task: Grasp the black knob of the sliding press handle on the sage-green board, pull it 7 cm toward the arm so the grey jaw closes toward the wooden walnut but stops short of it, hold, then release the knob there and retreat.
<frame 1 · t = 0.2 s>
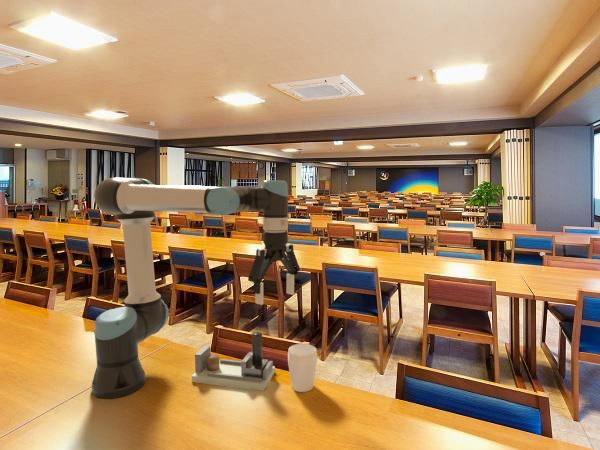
hand: (275, 298, 118), 27 cm above the table, fingers open, 13 cm apart
walnut: (213, 368, 125), point 2 cm above the table, touching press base
handle: (254, 353, 121), point 9 cm above the table, slide at 0.0 cm
cup: (302, 387, 117), on the table
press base: (234, 376, 123), on the table
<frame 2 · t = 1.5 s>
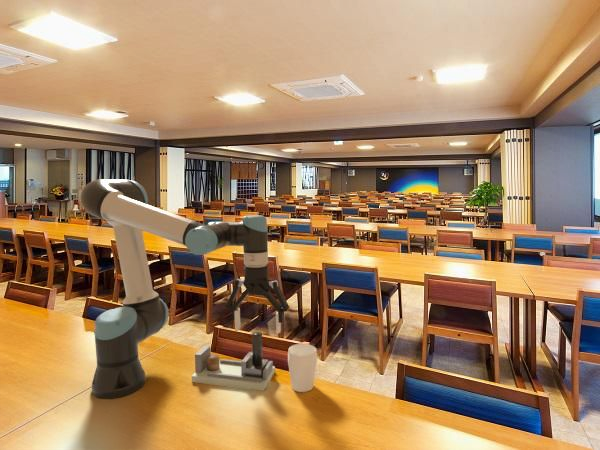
hand: (257, 330, 120), 16 cm above the table, fingers open, 13 cm apart
nothing on the table moved.
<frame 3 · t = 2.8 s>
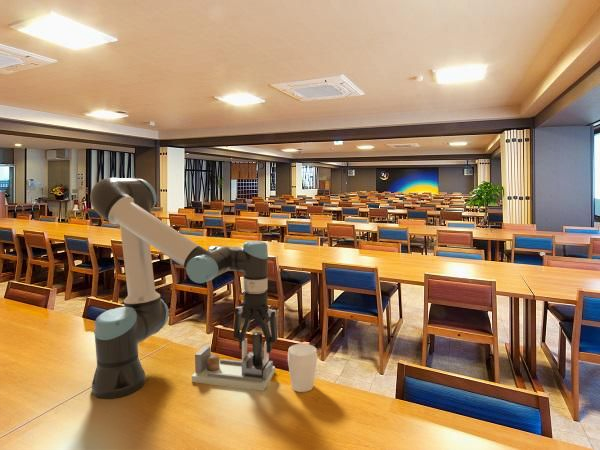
hand: (255, 360, 121), 6 cm above the table, fingers open, 7 cm apart
handle: (255, 353, 121), point 9 cm above the table, slide at -0.1 cm, touching gripper
everything else where it was.
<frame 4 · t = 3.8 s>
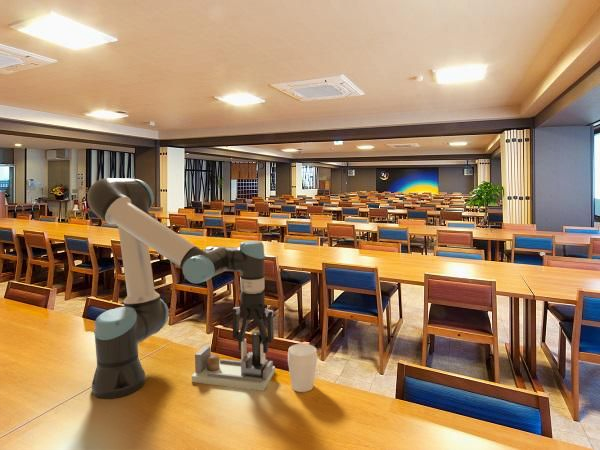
hand: (253, 360, 121), 6 cm above the table, fingers closed on handle, 6 cm apart
handle: (254, 353, 121), point 9 cm above the table, slide at 0.1 cm, touching gripper
everything else where it was.
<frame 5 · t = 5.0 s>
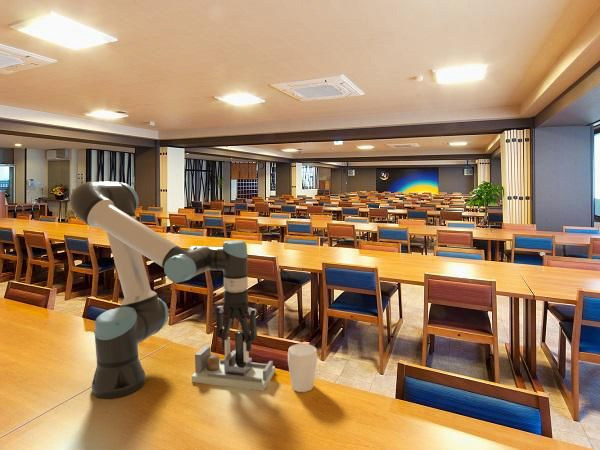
hand: (236, 358, 123), 6 cm above the table, fingers closed on handle, 6 cm apart
handle: (238, 351, 122), point 9 cm above the table, slide at 5.7 cm, touching gripper
everything else where it was.
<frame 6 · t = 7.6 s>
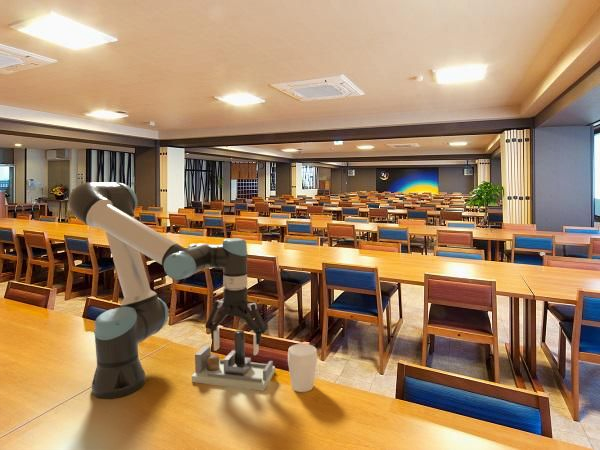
hand: (236, 351, 122), 9 cm above the table, fingers open, 13 cm apart
handle: (237, 351, 122), point 9 cm above the table, slide at 6.0 cm
everything else where it was.
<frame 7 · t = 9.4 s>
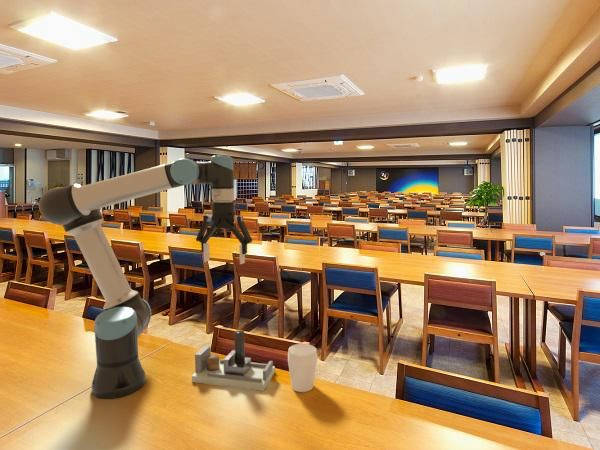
hand: (224, 262, 132), 35 cm above the table, fingers open, 13 cm apart
nothing on the table moved.
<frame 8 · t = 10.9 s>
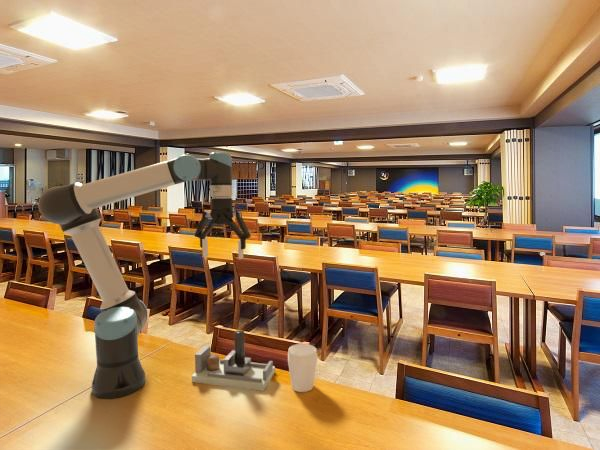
hand: (223, 257, 134), 37 cm above the table, fingers open, 13 cm apart
nothing on the table moved.
at the end: handle slide at 6.0 cm; the gripper is holding nothing; walnut moved 0.0 cm from its start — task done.
